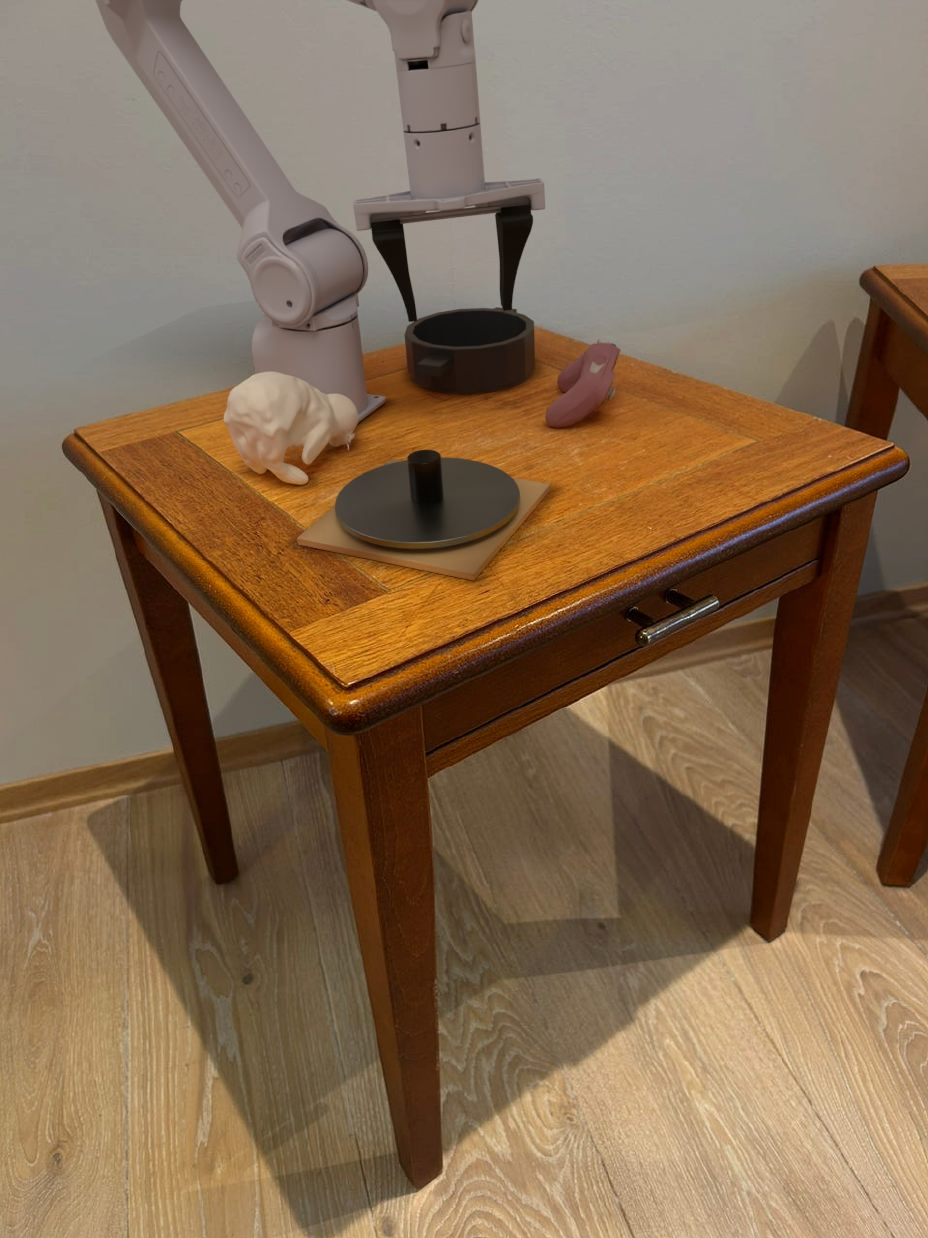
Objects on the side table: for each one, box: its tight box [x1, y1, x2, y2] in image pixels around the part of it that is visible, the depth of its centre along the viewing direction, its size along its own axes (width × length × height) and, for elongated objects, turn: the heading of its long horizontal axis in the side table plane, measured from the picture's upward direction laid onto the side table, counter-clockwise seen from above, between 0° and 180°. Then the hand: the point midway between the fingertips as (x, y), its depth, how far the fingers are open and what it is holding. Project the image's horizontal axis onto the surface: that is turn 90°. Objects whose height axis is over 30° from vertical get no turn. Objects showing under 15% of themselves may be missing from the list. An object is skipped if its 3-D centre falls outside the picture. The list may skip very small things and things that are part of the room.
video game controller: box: [544, 338, 621, 428], centre depth 86 cm, size 10×5×7 cm, turn 168°
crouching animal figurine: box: [222, 372, 359, 486], centre depth 79 cm, size 6×8×12 cm
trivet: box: [296, 458, 551, 582], centre depth 72 cm, size 14×14×1 cm
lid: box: [334, 449, 520, 549], centre depth 70 cm, size 14×14×4 cm
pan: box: [404, 306, 536, 395], centre depth 96 cm, size 13×18×4 cm
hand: (459, 312), depth 79 cm, fingers open, 7 cm apart
